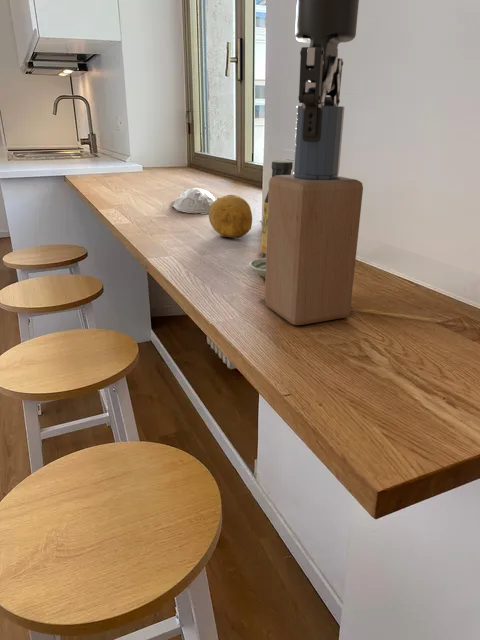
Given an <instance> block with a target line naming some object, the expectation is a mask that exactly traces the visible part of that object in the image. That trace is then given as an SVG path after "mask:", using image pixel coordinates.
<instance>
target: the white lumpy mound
mask: <svg viewBox="0 0 480 640" xmlns="http://www.w3.org/2000/svg"><path fill="white" fill-rule="evenodd" d="M215 200H217V198H215V196H213V194H212V193H211V192H209V190H207V189H203V188H198V187H193V188H189V189H185V190H184V191H183V192H182V193H180V195H178V197H177V198H176V200H175V202H174V203H173V204H172V207H174V209H175V210H176V211H179V212H183V213H189V214H190V213H191V214H201V215H207V214H209V209H210V206H211V205H212V203H213V202H214V201H215Z"/></svg>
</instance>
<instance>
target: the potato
mask: <svg viewBox="0 0 480 640" xmlns="http://www.w3.org/2000/svg"><path fill="white" fill-rule="evenodd" d="M208 220H209V223H210V225H211V227H212V228H213V230H214V231H215V232H216V233H218V235H220V237H221V236H222V237H225V238H231V239H237V240H238V239H240V238H242V237H244V236H246V234H248V233H249V232H250V231H251V230H252V226H253V213H252V208H251V206H250V204H249V203H248V202H247V200H245V199H244V198H243V197H241V196H239V195H236V194H227V195H223V196H221V197H217V198H216V200H215V201H214V202H213V203H212V205H211V206H210V209H209V213H208Z"/></svg>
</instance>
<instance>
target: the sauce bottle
mask: <svg viewBox="0 0 480 640" xmlns="http://www.w3.org/2000/svg"><path fill="white" fill-rule="evenodd" d="M270 168H271V178H272V177H274V176H276V175H292V170H293V168H294V161H291V160H287V159H285V160H284V159H276V160H274V159H273V160H272V161H271V167H270ZM268 193H269V189H268V191H267V193H266V196H265V199H264V201H263V215H262V231H261V232H262V233H261V235H262V236H261V258H266V252H267V222H268Z"/></svg>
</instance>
